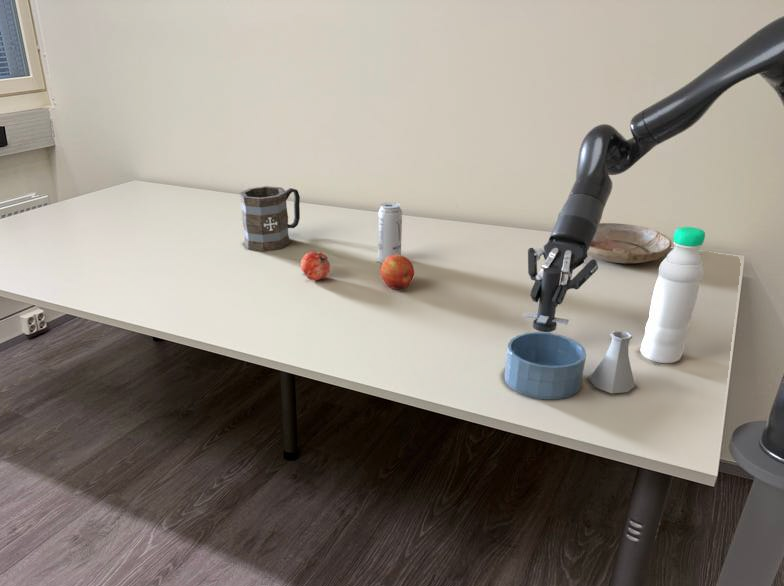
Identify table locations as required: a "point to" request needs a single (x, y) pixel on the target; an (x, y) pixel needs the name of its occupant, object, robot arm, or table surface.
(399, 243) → the energy drink can
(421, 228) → the table surface
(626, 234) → the ceramic bowl
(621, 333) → the flask
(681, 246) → the water bottle
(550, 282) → the chopping blade
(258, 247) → the mug
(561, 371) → the processor bowl
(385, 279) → the apple
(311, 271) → the pomegranate
